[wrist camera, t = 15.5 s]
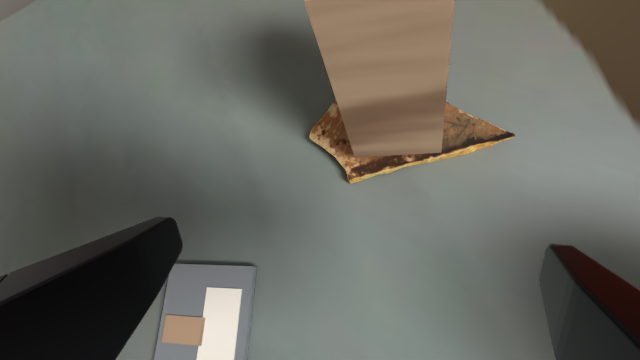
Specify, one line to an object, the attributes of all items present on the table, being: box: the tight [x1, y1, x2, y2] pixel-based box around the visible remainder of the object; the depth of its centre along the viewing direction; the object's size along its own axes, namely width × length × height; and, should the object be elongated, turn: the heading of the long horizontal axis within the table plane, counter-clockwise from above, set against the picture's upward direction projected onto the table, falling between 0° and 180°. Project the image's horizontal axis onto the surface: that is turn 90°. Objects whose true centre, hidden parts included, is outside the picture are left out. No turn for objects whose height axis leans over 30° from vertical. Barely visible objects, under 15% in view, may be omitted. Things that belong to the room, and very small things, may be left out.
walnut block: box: [304, 0, 455, 158], centre depth 18 cm, size 5×5×11 cm
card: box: [154, 264, 257, 360], centre depth 23 cm, size 8×6×1 cm
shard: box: [309, 101, 515, 184], centre depth 23 cm, size 11×8×2 cm
